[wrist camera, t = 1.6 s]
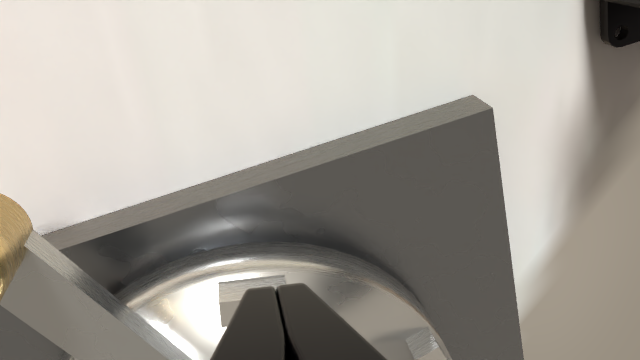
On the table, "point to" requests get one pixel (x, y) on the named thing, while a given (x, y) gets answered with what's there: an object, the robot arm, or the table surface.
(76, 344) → the grey rounded piece
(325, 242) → the cap housing
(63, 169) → the table surface
